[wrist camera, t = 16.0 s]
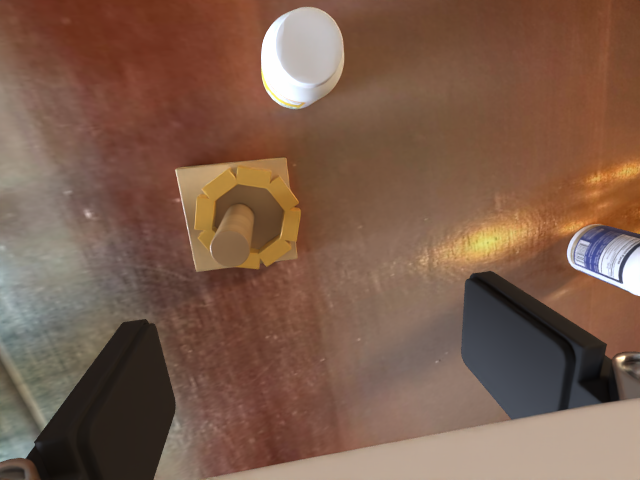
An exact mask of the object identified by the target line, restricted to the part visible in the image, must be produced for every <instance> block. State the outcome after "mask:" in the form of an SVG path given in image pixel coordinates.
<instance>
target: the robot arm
mask: <svg viewBox="0 0 640 480" xmlns="http://www.w3.org/2000/svg"><path fill="white" fill-rule="evenodd" d="M606 346H607V344H606V343H604V342H602V341H601V340H599V339H598V338H596V337H595V336H593V335H591V334H590V333H588V332H587V331H585V330H584V329H582V328H580V327H579V326H577V325H576V324H574V323H573V322H571V321H569V320H568V319H566V318H565V317H563V316H562V315H560V314H558V313H557V312H555V311H554V310H552V309H551V308H549V307H547V306H546V305H544V304H543V303H541V302H540V301H538V300H536V299H535V298H533V297H532V296H530V295H529V294H527V293H525V292H524V291H522V290H521V289H519V288H518V287H516V286H514V285H513V284H511V283H510V282H508V281H507V280H505V279H503V278H502V277H500V276H499V275H497V274H496V273H494V272H492V271H488V272H481V273H473V274H472V275H471V276H470V279H467V280H466V282H465V294H464V311H463V329H462V347H461V354H462V358H463V361H464V363H465V364H466V366H467V367H468V368H469V369H470V370H471V372H472V373H473V374H474V375H475V376H476V378H477V379H478V380H479V381H480V382H481V383H482V385H483V386H484V387H485V388H486V389H487V391H488V392H489V393H490V394H491V395H492V397H493V398H494V399H495V400H496V401H497V403H498V404H499V405H500V406H501V407H502V408H503V410H504V411H505V412H506V413H507V414H508V416H509V417H510V418H511V419H512V420H507V421H502V422H497V423H491V424H486V425H481V426H475V427H470V428H465V429H459V430H454V431H449V432H444V433H438V434H433V435H428V436H423V437H417V438H412V439H407V440H402V441H396V442H391V443H386V444H381V445H375V446H370V447H365V448H360V449H355V450H349V451H344V452H339V453H334V454H329V455H323V456H318V457H313V458H308V459H303V460H297V461H292V462H287V463H282V464H277V465H272V466H266V467H261V468H256V469H251V470H246V471H241V472H236V473H231V474H226V475H221V476H216V477H211V478H206V479H200V480H640V352H622V353H618V354H616V355H615V356H614V357H613V358H612V360H611V359H610V358H608V357H607V356H605V350H606ZM175 406H176V404H175V397H174V393H173V390H172V386H171V382H170V378H169V374H168V370H167V367H166V363H165V359H164V355H163V351H162V347H161V344H160V340H159V336H158V332H157V328H156V326H155V324H154V323H151V324H149V322H148V321H147V320H146V319H143V320H136V321H129V322H123V323H122V324H121V325H120V327H119V328H118V329H117V331H116V332H115V334H114V335H113V336H112V338H111V339H110V340H109V342H108V343H107V344H106V346H105V347H104V348H103V350H102V351H101V352H100V354H99V355H98V357H97V358H96V359H95V361H94V362H93V363H92V365H91V366H90V367H89V369H88V370H87V371H86V373H85V374H84V375H83V377H82V378H81V380H80V381H79V382H78V384H77V385H76V386H75V388H74V389H73V390H72V392H71V393H70V394H69V396H68V397H67V398H66V400H65V401H64V403H63V404H62V405H61V407H60V408H59V409H58V411H57V412H56V413H55V415H54V416H53V417H52V419H51V420H50V422H49V423H48V424H47V426H46V427H45V428H44V430H43V431H42V432H41V434H40V435H39V436H38V438H37V439H36V440H35V442H34V443H35V446H34V448H33V449H32V450H31V452H30V453H29V454H28V456H27V457H26V459H24V458H16V459H9V460H6V461H3V462H0V480H153V479H154V476H155V473H156V470H157V467H158V464H159V460H160V457H161V454H162V451H163V448H164V445H165V442H166V439H167V436H168V433H169V429H170V426H171V423H172V420H173V417H174V414H175Z"/></svg>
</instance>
